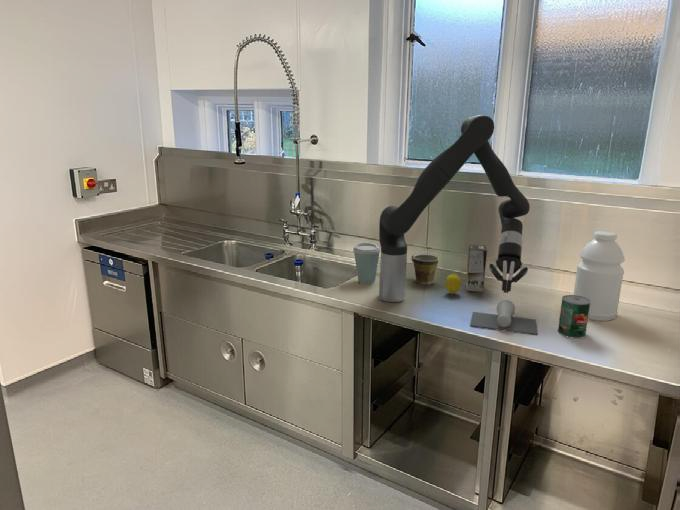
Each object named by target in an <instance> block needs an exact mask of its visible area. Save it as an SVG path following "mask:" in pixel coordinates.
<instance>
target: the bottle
mask: <svg viewBox="0 0 680 510" xmlns="http://www.w3.org/2000/svg"><path fill="white" fill-rule="evenodd" d="M617 236H618V235H617V234H616V233H615V232H612V231H607V230H596V231H594V232H593V239H592V240H590V241H589V242H588V243H586V244H585V245H584V246H583V248H582V250H581V251H580V253H579V257H580V258H581V259H582V260H581V261H579V262H578V263H577V265H576V275H575V282H574V290H573V295H577V296H582V297H585V298H587V299H589V300H590V308H589V314H588V320H592V321H601V322H602V321H603V322H605V321H612V320H615V319H616V317H617V315H618V308H619V303H620V297H621V296H620V295H621V290H622V289H621V288H622V283H623V279H624V274H625V270H624V268H623V267H622V266H621V264H623V263H624V262H625V261H626V260H625V256H624V252H623V250H622V248H621V247H620V245H619V244H618V242H616V241H617V238H618V237H617Z"/></svg>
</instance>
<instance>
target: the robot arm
mask: <svg viewBox="0 0 680 510" xmlns="http://www.w3.org/2000/svg"><path fill="white" fill-rule="evenodd" d="M494 131H495V122H494V120H493V119H492V118H491V116H488V115H485V114H479V115H473V116H469V117H467V118H466V119H464V121H462V123H461V126H460V134H461V135H460V136H459V137H458V139H456V141H455V142H454V143H453V144H451V145H450V146H448V147H447V148H446V149H445V150H443V151H442V152H441V153H440V154H438V155H437V156H436V157H435V158H433V159H432V160H431V162H429V164H428V165H427V166H426V167H425V168H424V169H423V170H422V172H421V173H420V174H419V176H418V178H417V180H416V182H415V184H414V187H413V190H412V191H411V193H410V195H409V196H408V197H407V198H406V199H405V200H404V201H403V202H402V203H401V204H400V206H397V205H389V206H387V207H385V208H384V209H383V210H382V211H381V214H380V216H379V221H378V222H379V225H378V226H379V228H378V229H379V233H378V235H379V236H378V237H379V240H378V241H379V245H380V268H379V269H380V271H379V281H378V282H379V283H378V284H379V285H378V286H379V287H378V288H379V289H378V300H379V301H384V302H388V303H400V302H403V301H405V298H406V283H407V281H406V280H407V257H408V245H407V242H406V240H405V239H406V238H405V234H406V233H408V232H409V230H411V228H412V227H413V225H414V224H415V222H416V221H417V220H418V219H419V217H420V216H421V214H422V213H423V212H424V211H425V210H426V208H427V207H428V206H429V204H430V203H431V202H432V201H433V200H434V199H435V198H436V197H437V196H438V194H440V192H442V190H443V189H444V188H445V187H446V186H448V184H449V183H450V182H451V180H452V179H453V178H454V176H455V175H457V173H458V172H459V171H460V170H461V169H462V167H464V165H465V164H466V163H467V161H468V160H469V159H470V158H471V156H473V155H475V157H476V158H477V160H478V162H479V163H480V166H481V167H482V169H483V170H484V173H485V175H486V176H487V178H488V181H489V183H490V185H491V187H492V189H493V191H494V193H495V195H496V196H497V197H501V198H503V197H505V198H509V199H505V200H503V201H501V203H500V204H499V206H498V214H499V218H500V223H501V231H500V237H499V241H498V252H497V253H498V254H497V259H496V260H495V262H494V263H489V267H488V269H489V270H490V272H491V274H492V275H493V276H494V277H495V279H496V280H497V281H498V282H499V281H500V282H501V283H502V284H501V291H503V294H504V293H505V294H509V292H511V290H512V283H518V282H519V281H520V280H521V279H522V278H523V277H524V276H526V275H527V274H528V270H529V267H527V266H524V265H523V262H522V249H523V226H524V225H523V223H522V221H521V220H519V219H518V218H521V217H523V216H526V215H527V214H528V213H529V212H530V208H531V207H530V203H529V200H528V199H527V198H526V196H525V195H524V194H523V193H522V192H521V191H520V190H519V188H518V187H517V186H516V185H515V183H514V180H513V178H512V176H511V174H510V172H509V170H508V168H507V167H506V165H505V164H504V163H503V162H502V160H501V159H500V158H499V157H498V155H497V154H496V153H495V151H494V149H493V148H492V146H491V144H490V142H489V140H490V139H491V138H492V136H493V134H494ZM499 271H500V272H499ZM518 271H519V272H518ZM501 273H502V275H501ZM516 273H517V274H516ZM514 274H516V275H514ZM507 275H508V278H507ZM513 275H514V276H513Z"/></svg>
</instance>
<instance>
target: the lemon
mask: <svg viewBox="0 0 680 510" xmlns="http://www.w3.org/2000/svg"><path fill="white" fill-rule="evenodd" d="M461 287H462V282H461V278H460V276H459V275H457V274H456V273H452V274H450V275H447V278H446V279H445V289H446V291H448V292H449V293H450V294H451V295H454V294H455V293H457V292H458V291H460V289H461Z"/></svg>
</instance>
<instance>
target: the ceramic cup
mask: <svg viewBox="0 0 680 510" xmlns="http://www.w3.org/2000/svg"><path fill="white" fill-rule="evenodd" d="M439 260H440V259H439V257H438V256H436V255H433V254H424V253H423V254H415V255H412V256H411V261H412V263H413V267H414V274H415V281H416V283H418V284H420V285H426V286H427V285H431V284H433V282H434V278H435V274H436V270H437V267H438V265H439Z"/></svg>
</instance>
